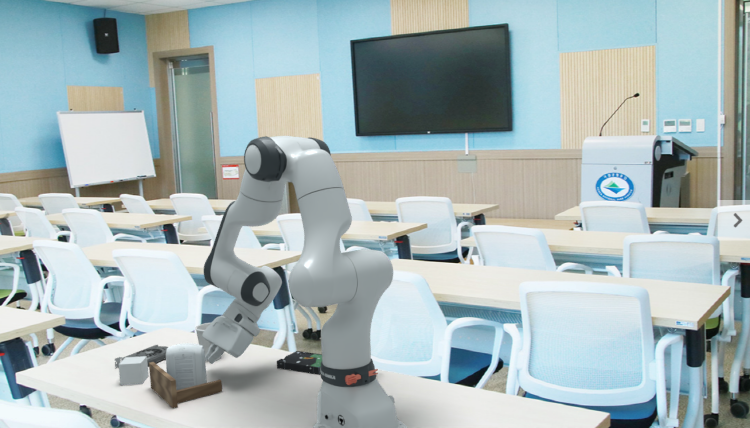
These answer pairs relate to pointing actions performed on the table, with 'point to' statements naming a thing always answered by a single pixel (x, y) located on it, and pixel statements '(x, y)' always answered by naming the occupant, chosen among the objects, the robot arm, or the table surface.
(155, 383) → the dock
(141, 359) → the grey cube
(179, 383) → the photo printer
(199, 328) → the dixie cup
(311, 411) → the table surface
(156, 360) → the graphics card
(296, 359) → the disk drive
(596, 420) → the table surface
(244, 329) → the robot arm
